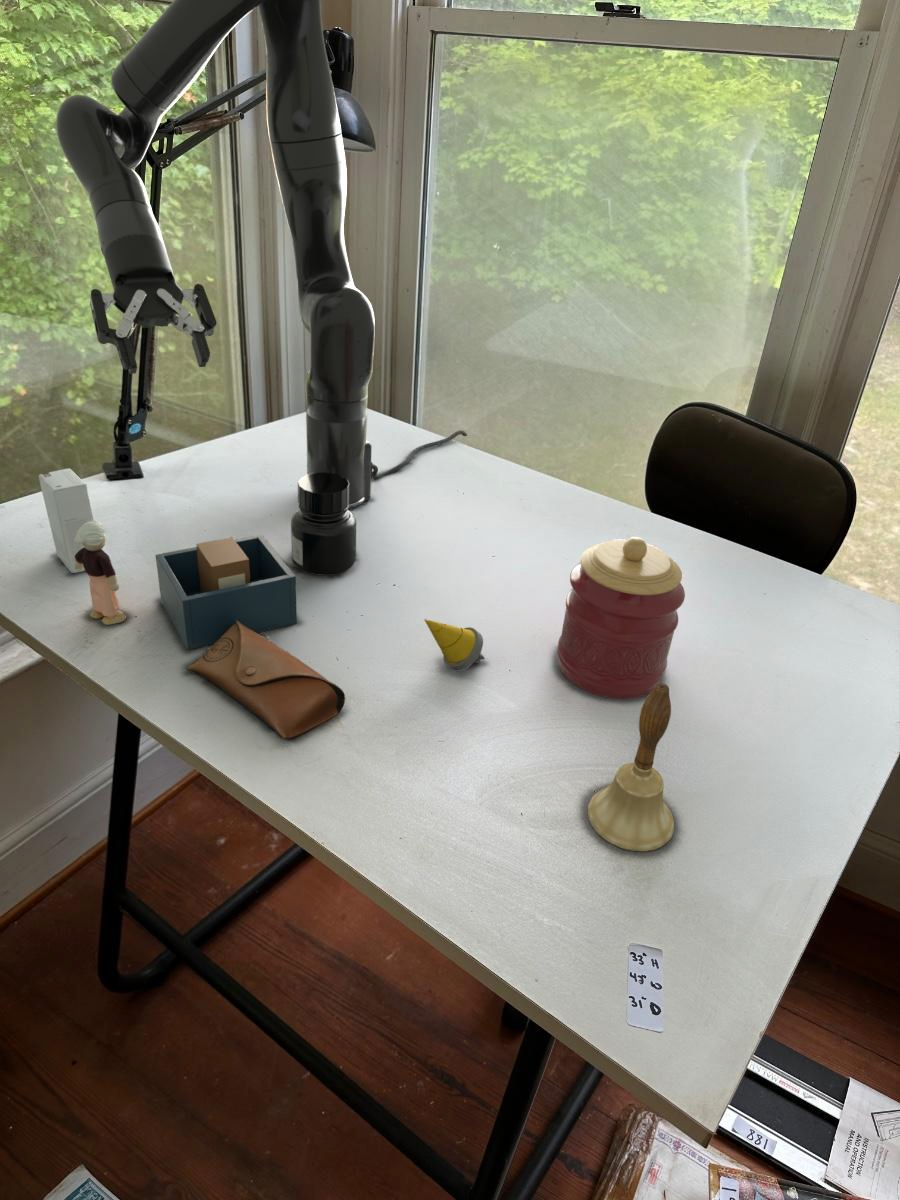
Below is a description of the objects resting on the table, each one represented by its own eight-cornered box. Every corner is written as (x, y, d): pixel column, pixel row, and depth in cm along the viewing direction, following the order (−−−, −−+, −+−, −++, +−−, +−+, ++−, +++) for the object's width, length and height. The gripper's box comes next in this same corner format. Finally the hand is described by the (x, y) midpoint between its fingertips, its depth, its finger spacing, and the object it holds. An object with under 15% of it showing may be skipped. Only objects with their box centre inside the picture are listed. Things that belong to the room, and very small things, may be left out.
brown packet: (236, 591, 109) (232, 536, 105) (252, 615, 105) (249, 559, 100) (201, 599, 107) (196, 543, 103) (216, 624, 103) (211, 567, 98)
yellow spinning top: (485, 685, 98) (427, 642, 93) (457, 679, 103) (400, 637, 97) (505, 645, 100) (449, 600, 95) (476, 641, 104) (422, 598, 99)
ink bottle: (306, 540, 123) (304, 464, 117) (364, 550, 122) (366, 473, 116) (281, 572, 115) (278, 492, 109) (343, 583, 114) (344, 503, 108)
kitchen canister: (536, 646, 105) (556, 519, 96) (624, 629, 110) (651, 506, 100) (591, 711, 95) (619, 576, 86) (685, 689, 100) (722, 559, 90)
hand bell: (576, 832, 80) (606, 700, 71) (599, 777, 86) (629, 649, 78) (664, 864, 77) (705, 731, 69) (681, 805, 84) (720, 676, 75)
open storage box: (264, 579, 114) (261, 534, 110) (297, 623, 105) (296, 576, 102) (161, 601, 107) (155, 554, 104) (187, 650, 99) (182, 601, 95)
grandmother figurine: (141, 616, 104) (127, 524, 97) (118, 631, 101) (103, 537, 94) (93, 598, 107) (76, 507, 100) (69, 612, 104) (51, 520, 97)
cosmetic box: (104, 566, 113) (90, 483, 107) (69, 575, 111) (53, 491, 104) (87, 547, 117) (72, 466, 111) (53, 555, 115) (37, 473, 108)
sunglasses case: (180, 667, 95) (201, 612, 95) (225, 669, 101) (246, 618, 101) (287, 743, 86) (312, 684, 86) (330, 741, 92) (353, 685, 92)
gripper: (75, 233, 100) (111, 357, 98) (195, 230, 107) (231, 347, 105) (73, 270, 107) (107, 388, 105) (186, 265, 113) (220, 376, 111)
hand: (169, 367), depth 105 cm, fingers open, 8 cm apart
